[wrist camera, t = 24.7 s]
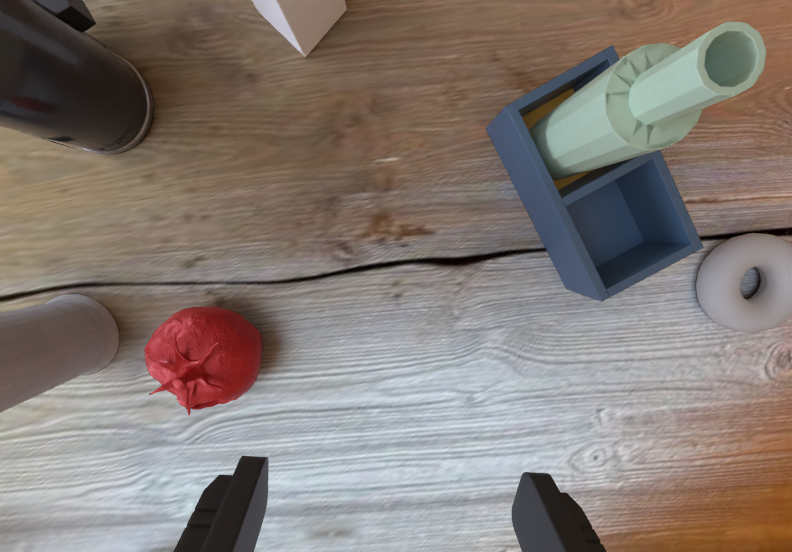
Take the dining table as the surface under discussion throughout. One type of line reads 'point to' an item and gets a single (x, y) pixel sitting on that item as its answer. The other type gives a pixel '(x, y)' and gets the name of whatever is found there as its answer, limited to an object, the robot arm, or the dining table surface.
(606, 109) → the bottle
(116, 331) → the glass holder
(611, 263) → the blue divided storage box
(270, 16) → the milk
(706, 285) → the donut
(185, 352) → the pomegranate
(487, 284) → the dining table surface
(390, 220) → the dining table surface
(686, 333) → the dining table surface
